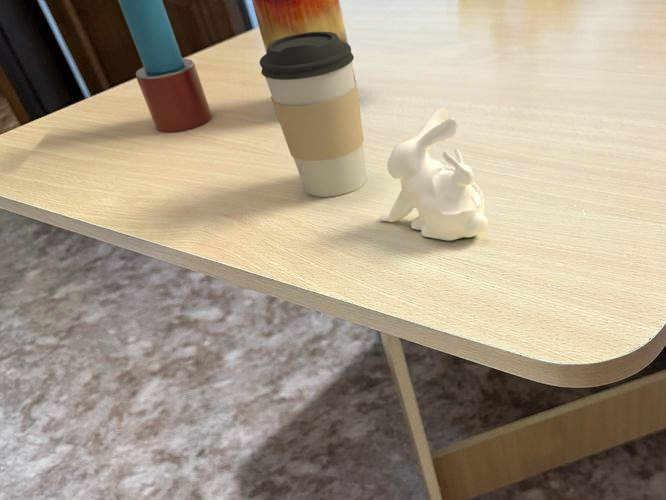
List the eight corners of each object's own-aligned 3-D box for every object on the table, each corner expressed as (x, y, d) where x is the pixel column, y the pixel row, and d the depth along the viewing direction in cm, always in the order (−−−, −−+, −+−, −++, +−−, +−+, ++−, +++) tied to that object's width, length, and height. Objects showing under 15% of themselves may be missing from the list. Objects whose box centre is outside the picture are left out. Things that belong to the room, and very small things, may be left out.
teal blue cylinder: (142, 76, 89) (100, -33, 81) (148, 65, 93) (109, -40, 85) (181, 69, 90) (143, -39, 82) (186, 59, 93) (150, -46, 86)
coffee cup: (300, 169, 79) (262, 30, 69) (378, 160, 79) (351, 19, 69) (289, 206, 72) (245, 56, 62) (375, 195, 72) (344, 44, 62)
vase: (366, 106, 93) (333, -68, 80) (287, 124, 91) (240, -52, 78) (349, 84, 101) (316, -77, 88) (276, 100, 99) (232, -63, 86)
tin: (152, 136, 93) (129, 80, 88) (160, 116, 98) (140, 64, 94) (209, 126, 93) (190, 71, 89) (214, 107, 99) (196, 55, 95)
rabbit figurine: (375, 220, 67) (355, 123, 61) (429, 190, 71) (415, 96, 65) (464, 255, 60) (452, 150, 54) (519, 220, 64) (513, 118, 58)
